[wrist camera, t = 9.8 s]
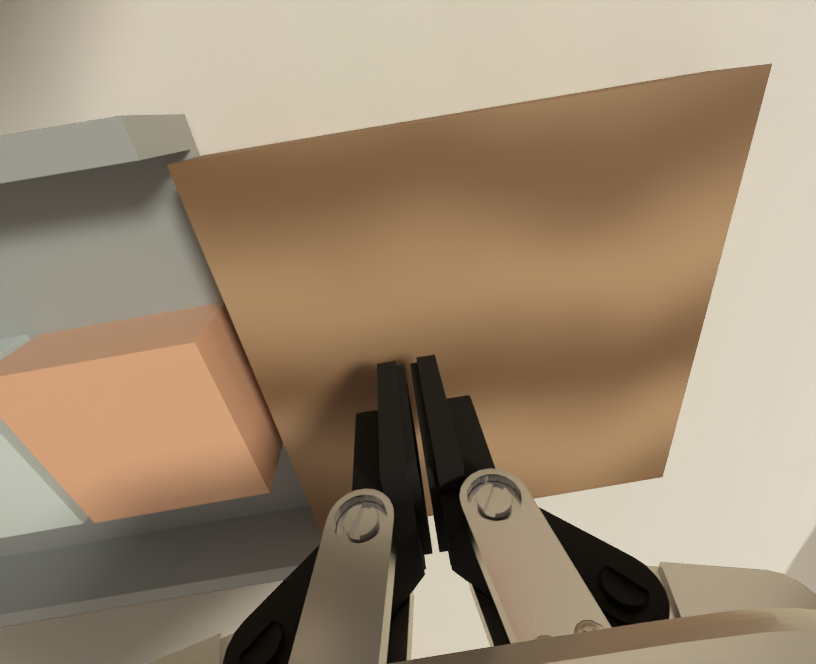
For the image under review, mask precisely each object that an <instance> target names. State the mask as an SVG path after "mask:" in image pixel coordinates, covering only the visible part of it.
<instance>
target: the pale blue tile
mask: <svg viewBox="0 0 816 664" xmlns="http://www.w3.org/2000/svg"><path fill="white" fill-rule="evenodd" d="M28 341H30V339H29V337H28V336H27V335H21V336H15V337H10V338H4V339H0V360H2V359H3V358H5V357H6V356H8V355H9V354H11V353H12V352H13V351H15V350H16V349H18V348H19V347H21V346H22V345H24V344H25V343H27V342H28ZM87 518H88V515H87V514H86V513H85V512H84V511H83V510H82V509H81V508H80V506H79V505H78V504H77V503H76V502H75V501H74V500H73V499H72V497H71V496H70V495H69V494H68V493H67V492H66V491H65V490H64V489H63V487H62V486H61V485H60V484H59V483H58V482H57V481H56V480H55V478H54V477H53V476H52V475H51V474H50V473H49V472H48V471H47V469H46V468H45V467H44V466H43V465H42V464H41V463H40V462H39V460H38V459H37V458H36V457H35V456H34V455H33V454H32V453H31V452H30V450H29V449H28V448H27V447H26V446H25V445H24V444H23V443H22V441H21V440H20V439H19V438H18V437H17V436H16V435H15V434H14V432H13V431H12V430H11V429H10V428H9V427H8V426H7V425H6V424H5V422H4V421H3V420H2V419H1V418H0V538H4V537H10V536H16V535H22V534H27V533H33V532H39V531H44V530H50V529H56V528H61V527H67V526H73V525H79V524H84V522H85V521H86V519H87Z"/></svg>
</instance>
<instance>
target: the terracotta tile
mask: <svg viewBox="0 0 816 664" xmlns="http://www.w3.org/2000/svg"><path fill="white" fill-rule="evenodd" d="M0 418H1V419H2V420H3V421H4V422H5V424H6V425H7V426H8V427H9V428H10V429H11V430H12V431H13V432H14V434H15V435H16V436H17V437H18V438H19V439H20V440H21V441H22V443H23V444H24V445H25V446H26V447H27V448H28V449H29V450H30V452H31V453H32V454H33V455H34V456H35V457H36V458H37V459H38V460H39V462H40V463H41V464H42V465H43V466H44V467H45V468H46V469H47V471H48V472H49V473H50V474H51V475H52V476H53V477H54V478H55V480H56V481H57V482H58V483H59V484H60V485H61V486H62V487H63V489H64V490H65V491H66V492H67V493H68V494H69V495H70V496H71V497H72V499H73V500H74V501H75V502H76V503H77V504H78V505H79V506H80V508H81V509H82V510H83V511H84V512H85V513H86V514H87V515H88V517H89V518H90V519H91V520H92V521H93V522H94V523H98V522H104V521H110V520H116V519H121V518H127V517H133V516H139V515H144V514H150V513H156V512H162V511H168V510H173V509H179V508H185V507H191V506H196V505H202V504H208V503H214V502H220V501H225V500H231V499H237V498H243V497H248V496H254V495H260V494H266V493H270V491H271V487H272V483H273V479H274V475H275V472H276V468H277V464H278V460H279V456H280V453H281V449H282V445H283V441H282V439H281V436H280V434H279V431H278V429H277V427H276V424H275V422H274V420H273V417H272V415H271V412H270V410H269V408H268V405H267V403H266V400H265V398H264V396H263V393H262V391H261V389H260V386H259V384H258V381H257V379H256V377H255V374H254V372H253V370H252V367H251V365H250V362H249V360H248V358H247V355H246V353H245V350H244V348H243V346H242V343H241V341H240V339H239V336H238V334H237V331H236V329H235V327H234V324H233V322H232V319H231V317H230V315H229V312H228V310H227V308H226V305H225V303H224V302H221V303H216V304H210V305H204V306H199V307H193V308H187V309H181V310H176V311H170V312H164V313H158V314H153V315H147V316H141V317H136V318H130V319H124V320H118V321H113V322H107V323H101V324H96V325H90V326H84V327H78V328H73V329H67V330H61V331H56V332H50V333H44V334H39V335H37V336H36V337H34V338H33V339H31V340H30V341H28V342H27V343H25V344H24V345H22V346H21V347H19V348H18V349H16V350H15V351H13V352H12V353H11V354H9V355H8V356H6V357H5V358H3V359H2V360H0Z"/></svg>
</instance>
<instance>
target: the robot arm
mask: <svg viewBox="0 0 816 664" xmlns="http://www.w3.org/2000/svg"><path fill="white" fill-rule="evenodd" d="M416 360H417V362H416V363H410V369H411V375H412V382H413V388H414V394H415V401H416V407H417V414H418V420H419V427H420V433H421V440H422V446H423V453H424V459H425V466H426V472H427V478H428V484H429V491H430V497H431V503H432V509H433V515H434V521H435V527H436V533H437V539H438V546H439V552H444V551H448V553H449V559H450V564H451V566H452V570H453V571H454V572H456V573H457V574H458V575H460V576H461V577H462V578H464V579H465V580H466V581H468V582H469V586H470V590H471V593H472V596H473V599H474V601H475V604H476V607H477V610H478V613H479V615H480V618H481V621H482V624H483V627H484V629H485V632H486V635H487V638H488V641H489V644H490V646H491V647H487V648H481V649H475V650H469V651H463V652H457V653H450V654H444V655H438V656H432V657H426V658H420V659H414V660H411V649H412V628H413V607H414V594H413V590H414V589H415V587H416V586H417V584H418V583H419V582H420V580H421V579H422V578H423V576H424V575H425V572H424V569H426V566H425V558H424V555H425V554H432V546H431V539H430V532H429V524H428V517H427V510H426V503H425V496H424V488H423V481H422V474H421V467H420V460H419V453H418V445H417V439H416V433H415V427H414V421H413V415H412V409H411V403H410V398H409V392H408V386H407V380H406V374H405V368H404V364H403V365H397V364H396V361H391V362H384V363H378V364H377V387H378V410H373V411H366V412H360V413H357V414H356V421H355V441H354V461H353V482H352V492H350V493H348V494H346V495H345V496H343V497H342V498H341V499H339V500H338V501H337V502H336V503H335V505H334V506H333V507H332V508H331V510H330V513H329V515H328V517H327V520H326V524H325V528H324V531H323V535H322V539H321V543H320V544H319V545H318V546H317V547H316V548H315V549H314V551H313V552H312V553H311V554H310V555H309V556H308V557H307V558H306V559H305V560H304V561H303V562H302V563H301V564H300V565H299V566H298V567H297V568H296V569H295V570H294V571H293V572H292V573H291V574H290V575H289V576H288V577H287V578H286V579H285V580H284V581H283V582H282V583H281V584H280V585H279V586H278V587H277V588H276V589H275V590H274V591H273V592H272V593H271V594H270V595H269V596H268V597H267V598H266V599H265V600H264V601H263V602H262V603H261V604H260V605H259V606H258V607H257V608H256V609H255V610H254V611H253V612H252V613H251V614H250V615H249V617H248V618H247V619H246V620H245V621H244V622H243V623H242V624H241V625H240V627H239V628H238V629H237V630H236V632H235V633H234V634H231V635H229V636H227V637H224V638H223V636H222V635H221V634H218V635H216V636H213V637H211V638H209V639H206V640H204V641H201V642H199V643H197V644H194V645H192V646H189V647H187V648H185V649H182V650H180V651H178V652H175V653H173V654H170V655H168V656H166V657H163V658H161V659H158V660H156V661H154V662H151V663H149V664H816V594H815V593H814V592H812V591H811V590H810V589H808V588H807V587H806V586H804V585H803V584H802V583H800V582H799V581H797V580H795V579H792V578H790V577H788V576H786V575H784V574H782V573H777V572H773V571H769V570H760V569H747V568H734V567H721V566H708V565H695V564H682V563H668V562H660V564H659V567H655V566H646V565H644V564H643V563H641V562H640V561H638V560H637V559H635V558H634V557H632V556H630V555H628V554H626V553H624V552H623V551H621V550H619V549H617V548H615V547H613V546H611V545H609V544H607V543H606V542H604V541H602V540H600V539H598V538H596V537H594V536H592V535H590V534H589V533H587V532H585V531H583V530H581V529H579V528H577V527H575V526H573V525H571V524H570V523H568V522H566V521H564V520H562V519H560V518H558V517H556V516H554V515H553V514H551V513H549V512H547V511H545V510H543V509H541V508H539V507H538V506H537V504H536V502H535V501H534V499H533V497H532V496H531V494H530V492H529V491H528V489H527V488H526V486H525V485H524V484H523V482H522V481H521V480H520V479H519V478H518V477H516V476H515V475H513V474H512V473H510V472H507V471H504V470H501V469H496V468H495V466H494V463H493V460H492V457H491V454H490V451H489V448H488V445H487V443H486V440H485V437H484V434H483V431H482V428H481V425H480V423H479V420H478V417H477V414H476V411H475V408H474V405H473V402H472V400H471V397H470V396H469V395H466V396H460V397H453V398H447V399H446V395H445V391H444V387H443V384H442V380H441V376H440V372H439V368H438V365H437V361H436V357H435V354H434V355H428V356H422V357H416Z"/></svg>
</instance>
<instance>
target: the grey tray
mask: <svg viewBox="0 0 816 664" xmlns="http://www.w3.org/2000/svg"><path fill="white" fill-rule="evenodd" d="M198 156H200V155H199V153H198V150H197V147H196V145H195V142H194V139H193V137H192V134H191V131H190V129H189V126H188V123H187V121H186V118H185V115H132V116H115V117H109V118H103V119H97V120H91V121H85V122H79V123H73V124H67V125H61V126H55V127H49V128H43V129H37V130H31V131H25V132H19V133H14V134H8V135H2V136H0V339H4V338H10V337H15V336H21V335H27V336H28V337H29V339H30V340H31V339H33V338H34V337H36V336H37V335H39V334H44V333H50V332H56V331H61V330H67V329H73V328H78V327H84V326H90V325H96V324H101V323H107V322H113V321H118V320H124V319H130V318H136V317H141V316H147V315H153V314H158V313H164V312H170V311H176V310H181V309H187V308H193V307H199V306H204V305H210V304H216V303H221V302H224V300H223V298H222V296H221V293H220V291H219V289H218V286H217V284H216V281H215V279H214V277H213V274H212V272H211V269H210V267H209V265H208V262H207V260H206V258H205V255H204V253H203V250H202V248H201V246H200V243H199V241H198V238H197V236H196V234H195V231H194V229H193V227H192V224H191V222H190V219H189V217H188V215H187V212H186V210H185V207H184V205H183V203H182V200H181V198H180V196H179V193H178V191H177V188H176V186H175V184H174V181H173V179H172V177H171V174H170V172H169V169H168V167H167V165H168V164H172V163H175V162H179V161H183V160H187V159H191V158H194V157H198ZM322 535H323V534H321V532H320V529H319V527H318V524H317V522H316V520H315V517H314V515H313V512H312V510H311V508H310V505H309V503H308V501H307V498H306V496H305V493H304V491H303V489H302V486H301V484H300V482H299V479H298V477H297V474H296V472H295V470H294V467H293V465H292V462H291V460H290V458H289V455H288V453H287V451H286V448H285V446H284V443H283V445H282V449H281V453H280V456H279V460H278V464H277V468H276V472H275V475H274V479H273V483H272V487H271V491H270V493H266V494H260V495H254V496H248V497H243V498H237V499H231V500H225V501H220V502H214V503H208V504H202V505H196V506H191V507H185V508H179V509H173V510H168V511H162V512H156V513H150V514H144V515H139V516H133V517H127V518H121V519H116V520H110V521H104V522H98V523H94V522H93V521H92V520H91V519H90V518H89V517H88V518H87V519H86V521H85V522H84V524H79V525H73V526H67V527H61V528H56V529H50V530H44V531H39V532H33V533H27V534H22V535H16V536H10V537H4V538H0V627H5V626H11V625H17V624H23V623H29V622H35V621H41V620H47V619H53V618H59V617H65V616H71V615H77V614H83V613H89V612H95V611H101V610H107V609H113V608H119V607H125V606H131V605H137V604H143V603H149V602H155V601H160V600H166V599H172V598H178V597H184V596H190V595H196V594H202V593H208V592H214V591H220V590H226V589H232V588H238V587H244V586H250V585H256V584H262V583H268V582H274V581H280V580H285V579H286V578H287V577H288V576H289V575H290V574H291V573H292V572H293V571H294V570H295V569H296V568H297V567H298V566H299V565H300V564H301V563H302V562H303V561H304V560H305V559H306V558H307V557H308V556H309V555H310V554H311V553H312V552H313V551H314V549H315V548H316V547H317V546H318V545H319V544H320V543H321V539H322Z"/></svg>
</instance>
